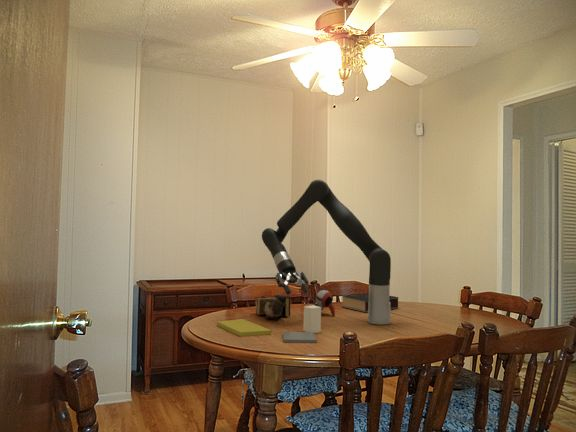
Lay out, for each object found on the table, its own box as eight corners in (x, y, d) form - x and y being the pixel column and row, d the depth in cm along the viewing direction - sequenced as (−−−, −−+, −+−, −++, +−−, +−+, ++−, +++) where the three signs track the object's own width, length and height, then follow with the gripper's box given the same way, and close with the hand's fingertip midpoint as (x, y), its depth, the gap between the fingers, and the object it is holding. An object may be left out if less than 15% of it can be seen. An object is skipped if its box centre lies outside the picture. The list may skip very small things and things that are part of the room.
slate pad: (313, 334, 175) (313, 332, 175) (316, 342, 163) (316, 339, 163) (282, 334, 174) (282, 331, 174) (283, 342, 162) (284, 339, 162)
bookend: (278, 294, 222) (301, 296, 200) (278, 316, 221) (301, 320, 199) (251, 294, 216) (271, 296, 194) (251, 317, 215) (271, 321, 193)
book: (398, 309, 239) (398, 297, 240) (365, 313, 225) (365, 300, 225) (374, 304, 254) (374, 293, 254) (341, 308, 239) (342, 295, 239)
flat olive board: (217, 326, 187) (243, 339, 167) (217, 321, 187) (243, 333, 167) (242, 324, 194) (271, 335, 174) (243, 319, 194) (271, 330, 174)
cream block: (313, 329, 184) (313, 305, 185) (320, 332, 180) (321, 307, 180) (303, 330, 182) (303, 306, 182) (310, 333, 177) (311, 308, 178)
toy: (331, 325, 214) (338, 298, 211) (301, 319, 214) (308, 292, 211) (330, 312, 228) (337, 286, 225) (302, 305, 228) (308, 280, 225)
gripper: (273, 258, 194) (287, 288, 184) (300, 258, 202) (315, 286, 192) (267, 269, 199) (280, 299, 189) (294, 269, 206) (307, 297, 196)
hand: (297, 293), depth 190 cm, fingers open, 8 cm apart
